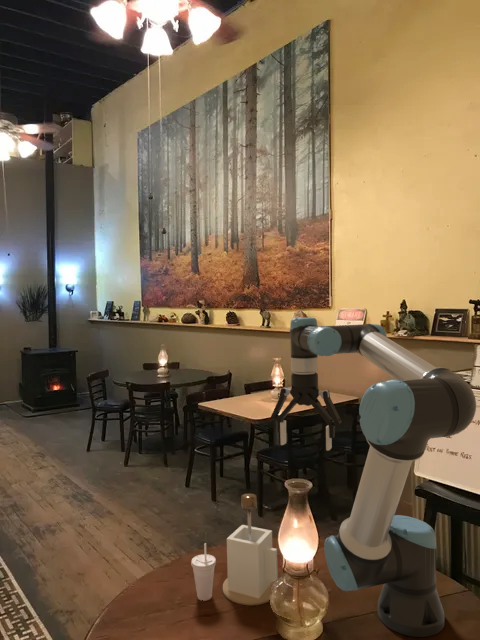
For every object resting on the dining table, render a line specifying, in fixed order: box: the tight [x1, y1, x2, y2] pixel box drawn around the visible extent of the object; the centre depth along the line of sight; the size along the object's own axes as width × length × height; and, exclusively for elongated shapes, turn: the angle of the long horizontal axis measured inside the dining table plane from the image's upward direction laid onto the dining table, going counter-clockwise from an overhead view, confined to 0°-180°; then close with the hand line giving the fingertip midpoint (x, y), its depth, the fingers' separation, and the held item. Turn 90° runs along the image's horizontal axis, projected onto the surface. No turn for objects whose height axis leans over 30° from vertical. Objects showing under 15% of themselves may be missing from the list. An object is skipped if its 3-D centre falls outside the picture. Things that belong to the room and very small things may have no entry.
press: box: [222, 524, 279, 606], centre depth 136 cm, size 15×15×15 cm
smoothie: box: [190, 542, 217, 602], centre depth 132 cm, size 6×6×14 cm
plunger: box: [240, 493, 258, 542], centre depth 135 cm, size 6×6×22 cm
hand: (305, 446), depth 145 cm, fingers open, 13 cm apart
